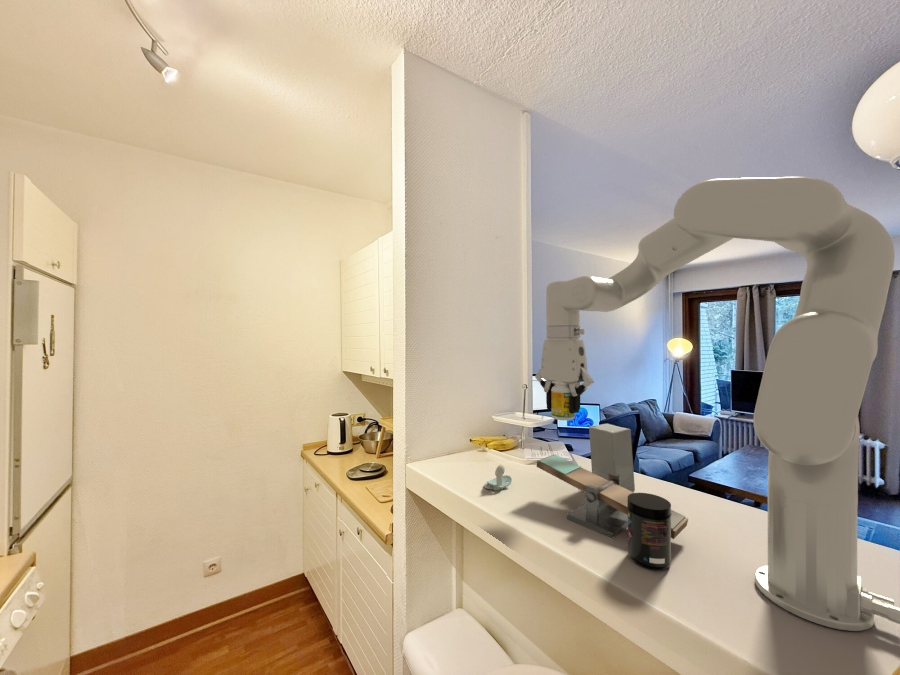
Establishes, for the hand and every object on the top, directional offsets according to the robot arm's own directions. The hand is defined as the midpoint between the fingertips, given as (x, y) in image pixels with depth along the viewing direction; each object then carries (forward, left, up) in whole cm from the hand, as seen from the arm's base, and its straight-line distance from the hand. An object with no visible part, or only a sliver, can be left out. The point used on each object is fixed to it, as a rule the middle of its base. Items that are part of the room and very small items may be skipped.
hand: (562, 409), depth 88 cm
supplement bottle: (0, 0, -2) cm, 2 cm away
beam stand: (-10, +1, -22) cm, 24 cm away
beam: (-10, 0, -17) cm, 20 cm away
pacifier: (+16, +6, -22) cm, 28 cm away
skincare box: (-4, -15, -22) cm, 27 cm away
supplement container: (-23, +9, -22) cm, 33 cm away
